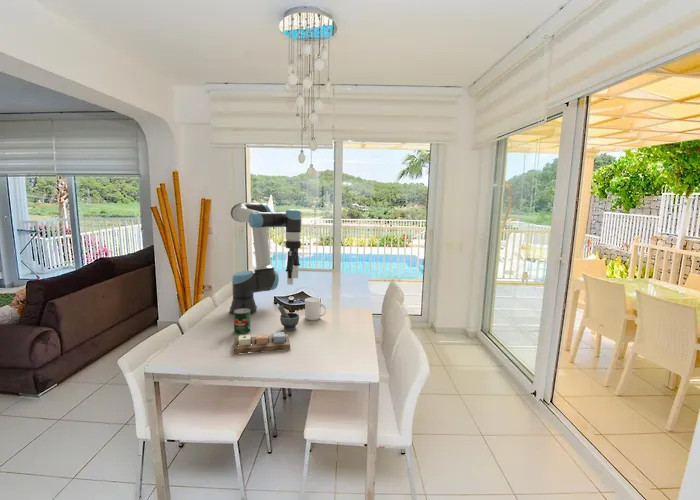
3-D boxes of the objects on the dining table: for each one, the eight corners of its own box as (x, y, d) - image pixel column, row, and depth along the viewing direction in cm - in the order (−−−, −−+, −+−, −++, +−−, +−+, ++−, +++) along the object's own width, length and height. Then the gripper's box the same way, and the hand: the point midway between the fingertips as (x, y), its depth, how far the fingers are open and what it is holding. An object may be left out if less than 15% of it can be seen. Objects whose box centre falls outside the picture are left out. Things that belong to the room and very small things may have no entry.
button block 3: (273, 343, 157) (273, 336, 157) (273, 339, 162) (273, 332, 161) (285, 342, 158) (285, 335, 158) (284, 338, 163) (284, 331, 163)
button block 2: (256, 344, 155) (256, 338, 155) (256, 340, 160) (256, 333, 159) (268, 344, 156) (268, 337, 156) (267, 339, 161) (267, 333, 161)
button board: (233, 354, 149) (233, 349, 149) (234, 343, 161) (234, 338, 161) (290, 349, 156) (290, 344, 156) (287, 339, 167) (287, 334, 167)
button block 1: (238, 346, 153) (238, 339, 153) (239, 341, 158) (238, 335, 157) (250, 345, 154) (250, 338, 154) (250, 341, 159) (250, 334, 159)
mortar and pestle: (301, 326, 185) (301, 304, 183) (295, 332, 176) (296, 309, 174) (281, 324, 187) (281, 302, 185) (274, 330, 178) (274, 307, 176)
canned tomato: (235, 335, 170) (235, 313, 168) (232, 330, 177) (232, 309, 175) (252, 333, 173) (251, 311, 172) (248, 327, 180) (248, 307, 179)
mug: (322, 322, 192) (323, 303, 190) (302, 319, 195) (302, 300, 194) (328, 317, 200) (328, 298, 198) (308, 314, 203) (308, 296, 202)
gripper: (295, 243, 165) (295, 287, 168) (304, 237, 190) (304, 275, 193) (279, 243, 165) (279, 286, 168) (291, 237, 190) (290, 275, 193)
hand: (292, 281), depth 181 cm, fingers open, 13 cm apart
